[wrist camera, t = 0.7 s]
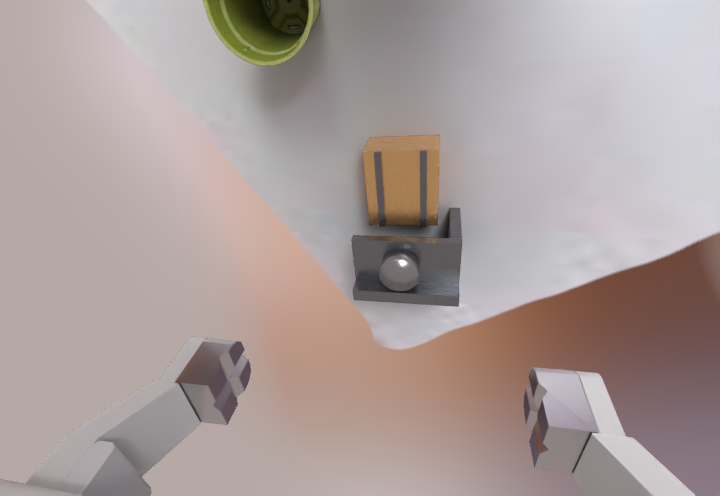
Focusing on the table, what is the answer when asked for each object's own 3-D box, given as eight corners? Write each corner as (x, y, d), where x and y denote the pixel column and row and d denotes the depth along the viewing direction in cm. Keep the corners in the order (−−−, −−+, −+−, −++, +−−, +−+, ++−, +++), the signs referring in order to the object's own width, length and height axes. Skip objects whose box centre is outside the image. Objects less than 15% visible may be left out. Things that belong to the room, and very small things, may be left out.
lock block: (370, 136, 44) (361, 153, 40) (439, 134, 42) (439, 150, 38) (375, 205, 49) (369, 226, 45) (438, 204, 47) (437, 227, 43)
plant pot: (329, -70, 34) (299, -85, 27) (343, 47, 39) (321, 60, 32) (235, -53, 36) (184, -63, 29) (260, 56, 41) (222, 70, 34)
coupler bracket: (363, 206, 49) (347, 249, 41) (459, 208, 47) (462, 254, 39) (367, 252, 53) (354, 299, 45) (456, 255, 51) (458, 306, 43)
